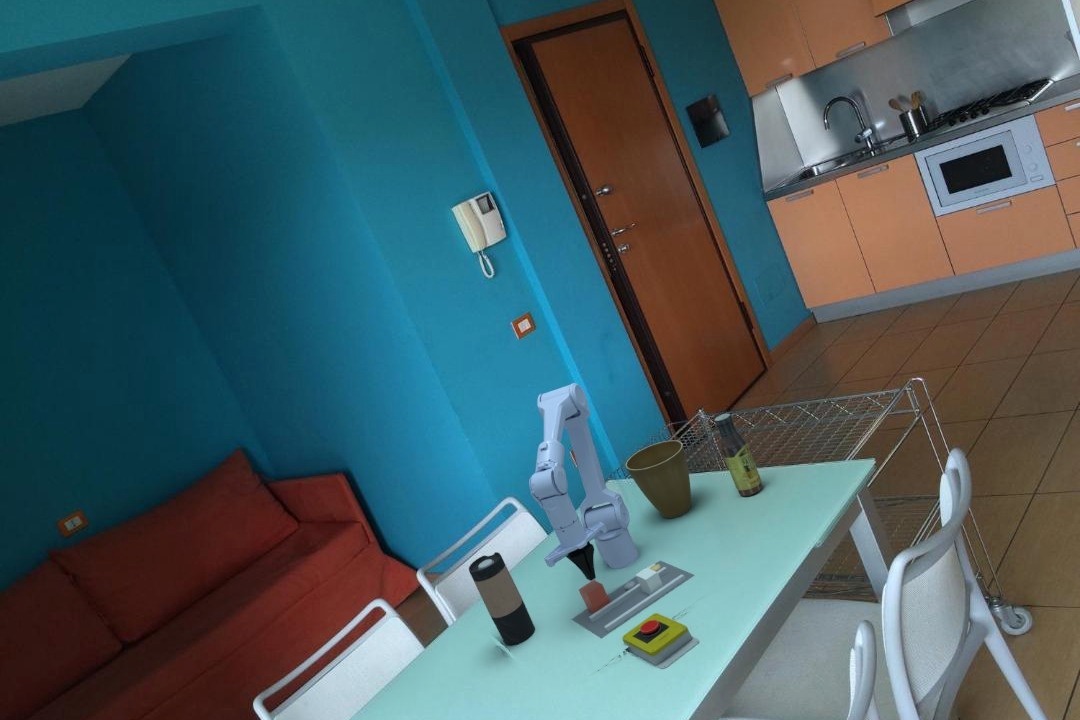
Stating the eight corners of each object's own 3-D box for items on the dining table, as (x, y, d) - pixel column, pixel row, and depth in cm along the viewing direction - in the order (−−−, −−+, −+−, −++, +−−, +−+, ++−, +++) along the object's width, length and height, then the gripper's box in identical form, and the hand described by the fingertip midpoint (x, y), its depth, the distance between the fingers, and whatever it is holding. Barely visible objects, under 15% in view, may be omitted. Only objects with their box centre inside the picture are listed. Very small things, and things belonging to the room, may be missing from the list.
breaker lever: (642, 591, 193) (635, 574, 192) (653, 583, 194) (646, 567, 193) (653, 596, 189) (645, 579, 188) (664, 588, 190) (657, 572, 189)
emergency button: (649, 604, 181) (693, 623, 168) (657, 623, 182) (702, 643, 169) (613, 630, 178) (655, 652, 164) (621, 649, 178) (664, 672, 165)
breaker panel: (574, 625, 195) (569, 615, 194) (662, 566, 203) (658, 556, 203) (604, 644, 182) (599, 634, 181) (697, 581, 190) (692, 570, 190)
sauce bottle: (759, 495, 216) (728, 421, 212) (735, 499, 220) (705, 426, 216) (767, 482, 221) (737, 409, 218) (744, 485, 225) (714, 414, 221)
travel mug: (515, 656, 193) (476, 575, 189) (501, 646, 200) (462, 567, 196) (544, 635, 196) (506, 555, 192) (529, 626, 203) (492, 549, 199)
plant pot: (644, 532, 224) (618, 474, 221) (657, 503, 237) (633, 449, 235) (700, 518, 218) (675, 459, 215) (711, 490, 231) (687, 434, 228)
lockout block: (587, 609, 195) (578, 589, 195) (602, 599, 197) (593, 579, 196) (596, 614, 192) (586, 594, 191) (611, 604, 193) (602, 584, 192)
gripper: (544, 543, 184) (571, 601, 186) (602, 507, 189) (628, 564, 191) (530, 537, 190) (557, 593, 192) (587, 502, 195) (611, 557, 198)
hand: (591, 578), depth 192 cm, fingers closed
